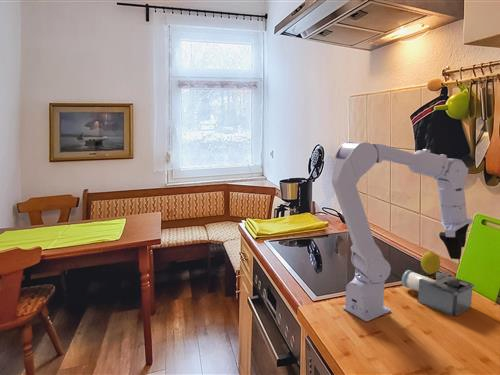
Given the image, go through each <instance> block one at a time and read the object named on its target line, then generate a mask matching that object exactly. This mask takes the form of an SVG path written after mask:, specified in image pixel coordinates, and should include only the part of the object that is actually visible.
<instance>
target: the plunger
mask: <svg viewBox="0 0 500 375" xmlns="http://www.w3.org/2000/svg"><path fill="white" fill-rule="evenodd" d="M459 279H460V278H458V277H455V276H452V277H448V278H447V285H449V286H451V287H454V288H459V285H460V280H461V279H460V280H459Z"/></svg>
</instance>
